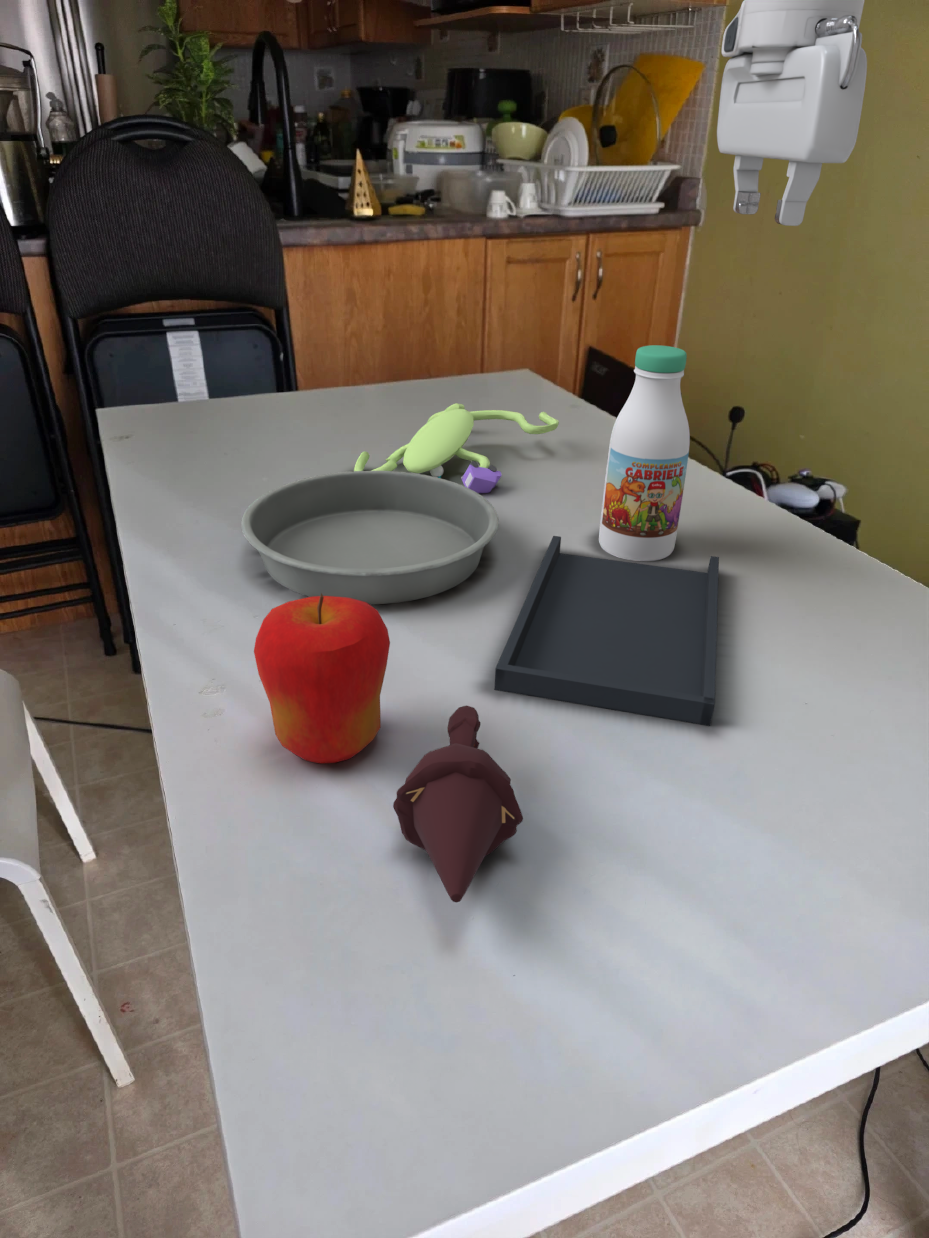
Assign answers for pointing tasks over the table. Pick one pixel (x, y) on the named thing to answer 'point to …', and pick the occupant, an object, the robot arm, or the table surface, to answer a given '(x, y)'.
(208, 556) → the table surface
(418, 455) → the figurine
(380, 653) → the apple
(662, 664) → the tray
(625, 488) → the milk bottle
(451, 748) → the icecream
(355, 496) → the cake pan
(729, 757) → the table surface
